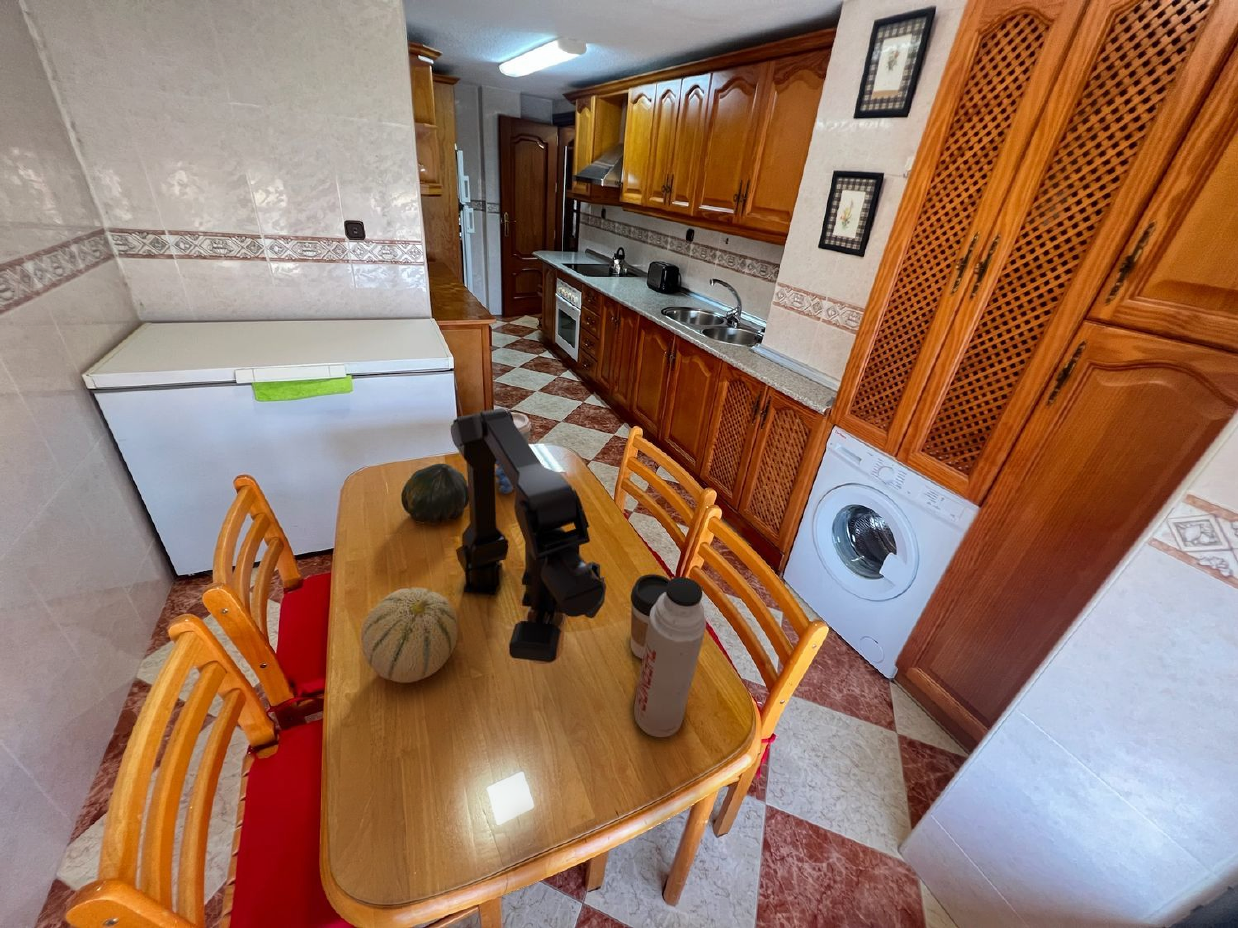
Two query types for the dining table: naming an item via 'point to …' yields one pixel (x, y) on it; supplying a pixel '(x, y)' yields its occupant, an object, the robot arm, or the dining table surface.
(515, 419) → the disposable coffee cup
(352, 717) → the dining table surface
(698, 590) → the thermos bottle
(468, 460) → the robot arm
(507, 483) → the grapes
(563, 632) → the cup
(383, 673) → the cantaloupe
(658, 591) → the coffee cup
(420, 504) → the squash
